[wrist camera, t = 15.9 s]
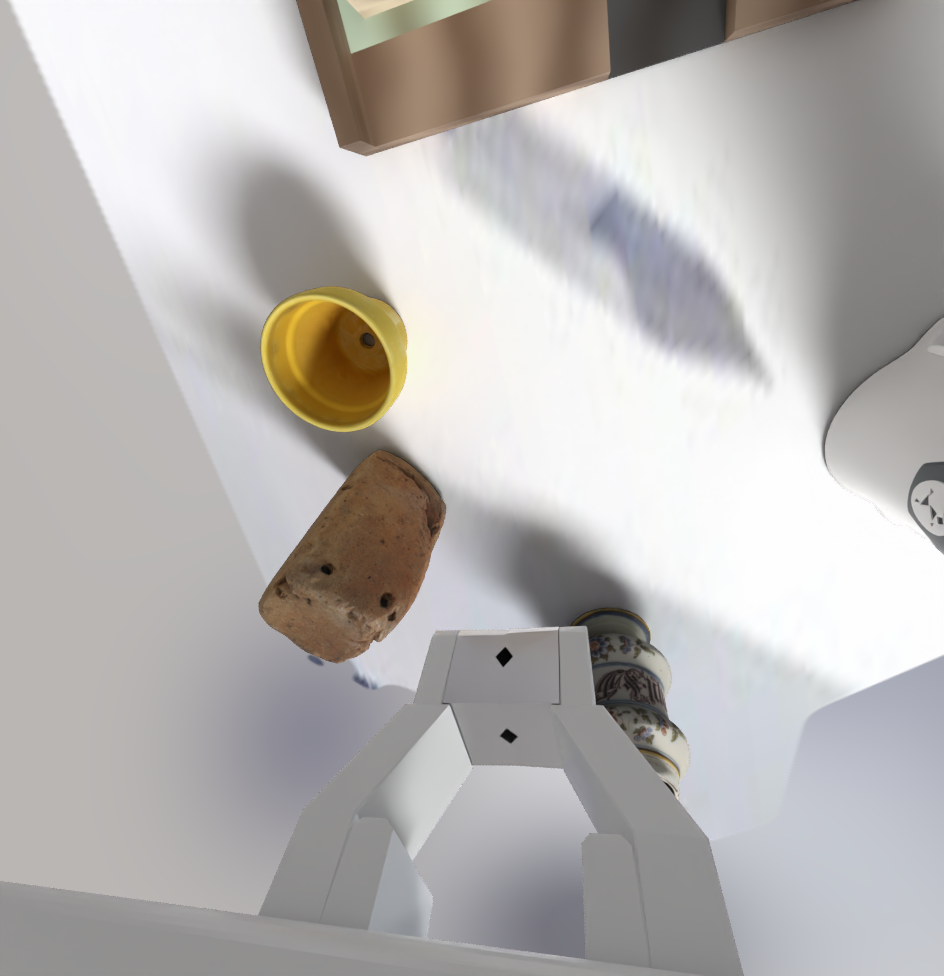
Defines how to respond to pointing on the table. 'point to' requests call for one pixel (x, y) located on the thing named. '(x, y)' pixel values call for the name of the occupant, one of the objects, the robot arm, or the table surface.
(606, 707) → the apothecary jar
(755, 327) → the table surface
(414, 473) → the block
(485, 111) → the box
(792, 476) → the table surface
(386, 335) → the plant pot
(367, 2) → the maple block
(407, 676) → the table surface
